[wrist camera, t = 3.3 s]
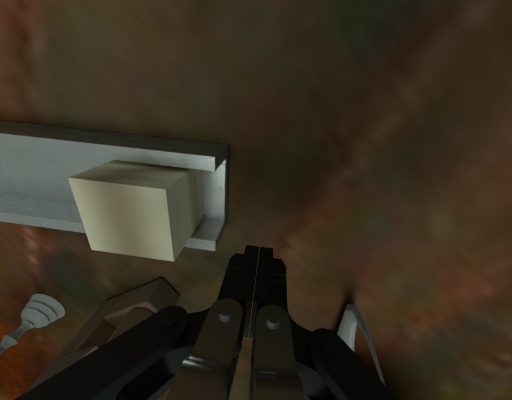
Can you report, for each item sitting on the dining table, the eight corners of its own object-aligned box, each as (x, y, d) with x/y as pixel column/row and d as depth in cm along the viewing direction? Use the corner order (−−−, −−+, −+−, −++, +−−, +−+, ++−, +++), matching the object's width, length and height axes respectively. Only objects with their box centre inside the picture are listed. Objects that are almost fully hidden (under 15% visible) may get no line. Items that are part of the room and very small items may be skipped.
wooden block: (104, 299, 29) (-114, 551, 13) (162, 275, 26) (-35, 573, 10) (123, 316, 30) (-55, 566, 14) (181, 295, 27) (33, 589, 11)
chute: (228, 144, 18) (214, 157, 14) (226, 225, 22) (215, 251, 18) (-52, 114, 20) (-127, 119, 16) (-11, 194, 23) (-64, 212, 20)
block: (201, 160, 18) (165, 189, 12) (203, 217, 20) (174, 261, 15) (131, 152, 18) (67, 177, 13) (141, 209, 21) (91, 249, 15)
